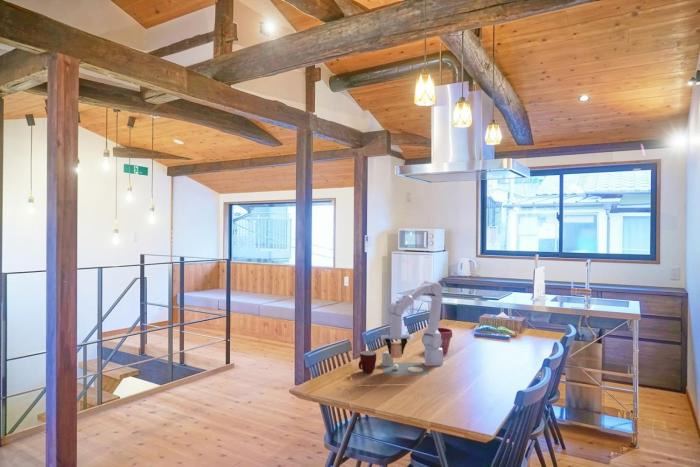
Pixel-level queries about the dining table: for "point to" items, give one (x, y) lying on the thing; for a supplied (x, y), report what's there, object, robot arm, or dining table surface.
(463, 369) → the dining table surface
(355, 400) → the dining table surface
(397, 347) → the tan piece
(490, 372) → the dining table surface
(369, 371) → the mug
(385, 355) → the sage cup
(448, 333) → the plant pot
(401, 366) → the mat
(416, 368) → the pad
